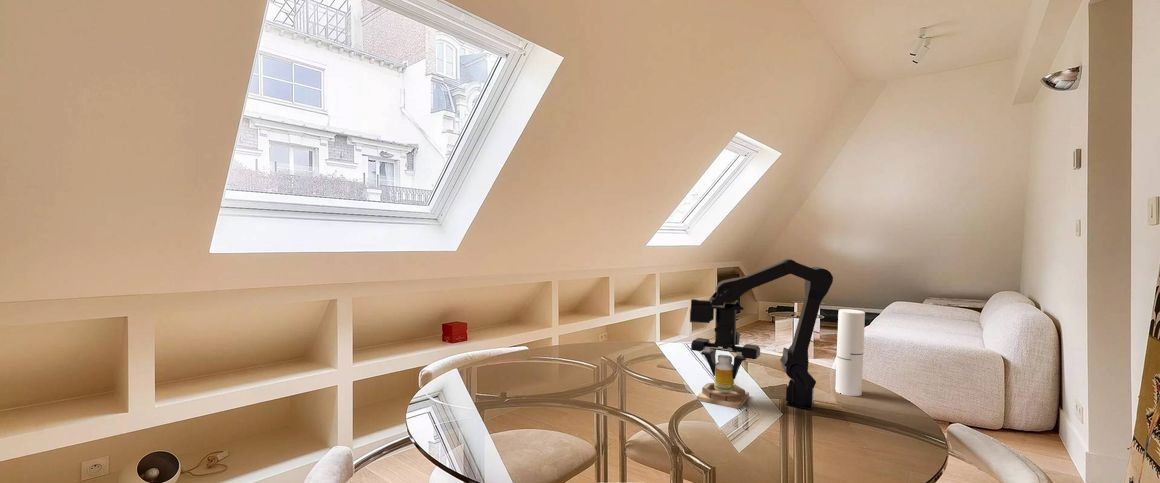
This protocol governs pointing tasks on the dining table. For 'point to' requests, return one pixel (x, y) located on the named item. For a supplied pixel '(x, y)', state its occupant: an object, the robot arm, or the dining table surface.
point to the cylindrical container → (850, 352)
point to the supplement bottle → (724, 374)
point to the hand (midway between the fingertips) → (724, 377)
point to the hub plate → (723, 396)
